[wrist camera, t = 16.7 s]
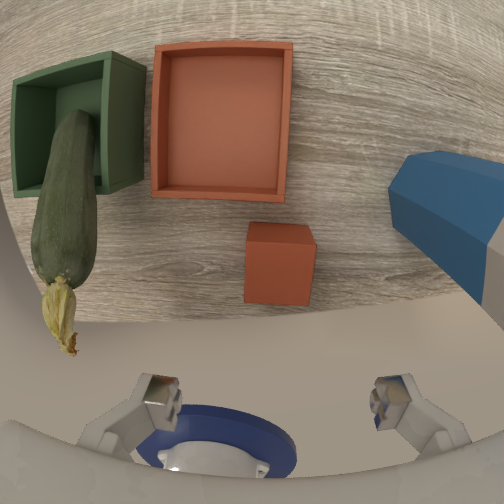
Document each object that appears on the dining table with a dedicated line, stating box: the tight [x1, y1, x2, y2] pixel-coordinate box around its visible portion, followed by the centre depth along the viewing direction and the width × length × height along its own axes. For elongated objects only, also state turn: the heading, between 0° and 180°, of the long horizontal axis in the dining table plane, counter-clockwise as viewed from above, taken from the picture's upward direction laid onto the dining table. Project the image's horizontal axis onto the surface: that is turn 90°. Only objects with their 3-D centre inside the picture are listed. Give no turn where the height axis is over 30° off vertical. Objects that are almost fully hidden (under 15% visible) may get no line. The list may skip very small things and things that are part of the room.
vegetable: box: [31, 109, 97, 357], centre depth 17 cm, size 4×4×20 cm
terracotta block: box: [244, 222, 317, 306], centre depth 24 cm, size 5×5×5 cm
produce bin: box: [10, 51, 146, 198], centre depth 20 cm, size 10×10×6 cm
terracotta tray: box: [150, 41, 293, 203], centre depth 21 cm, size 12×10×3 cm
